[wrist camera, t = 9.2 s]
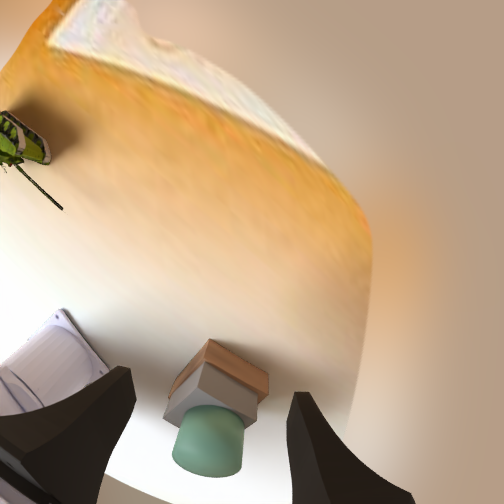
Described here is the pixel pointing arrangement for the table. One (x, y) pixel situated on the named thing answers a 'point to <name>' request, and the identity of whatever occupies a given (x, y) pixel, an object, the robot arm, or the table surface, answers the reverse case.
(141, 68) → the table surface
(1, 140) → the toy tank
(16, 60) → the table surface
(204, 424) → the green cylinder
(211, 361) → the walnut block
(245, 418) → the gray block
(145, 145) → the table surface
